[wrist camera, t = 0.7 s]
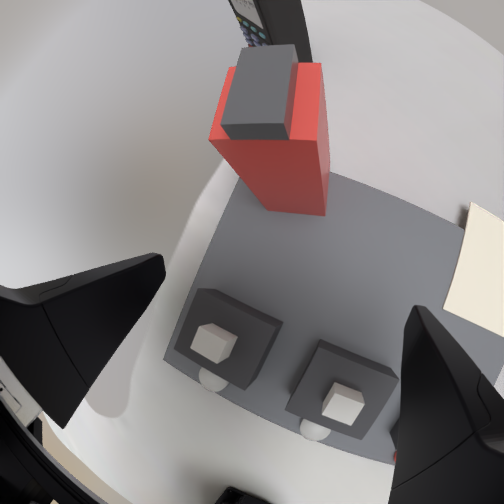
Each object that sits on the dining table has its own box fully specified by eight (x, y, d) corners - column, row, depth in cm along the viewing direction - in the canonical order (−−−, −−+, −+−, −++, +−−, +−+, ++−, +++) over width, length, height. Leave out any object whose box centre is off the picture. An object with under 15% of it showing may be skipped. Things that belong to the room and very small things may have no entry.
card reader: (246, 49, 27) (198, -44, 12) (273, 36, 26) (236, -58, 12) (286, 87, 24) (241, -34, 10) (317, 72, 24) (291, -49, 9)
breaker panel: (432, 465, 15) (450, 503, 9) (171, 356, 24) (126, 371, 17) (527, 247, 15) (567, 234, 9) (268, 134, 24) (248, 91, 18)
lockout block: (325, 217, 20) (313, 124, 8) (267, 211, 21) (195, 126, 10) (330, 162, 20) (318, 44, 9) (275, 158, 22) (220, 51, 10)
